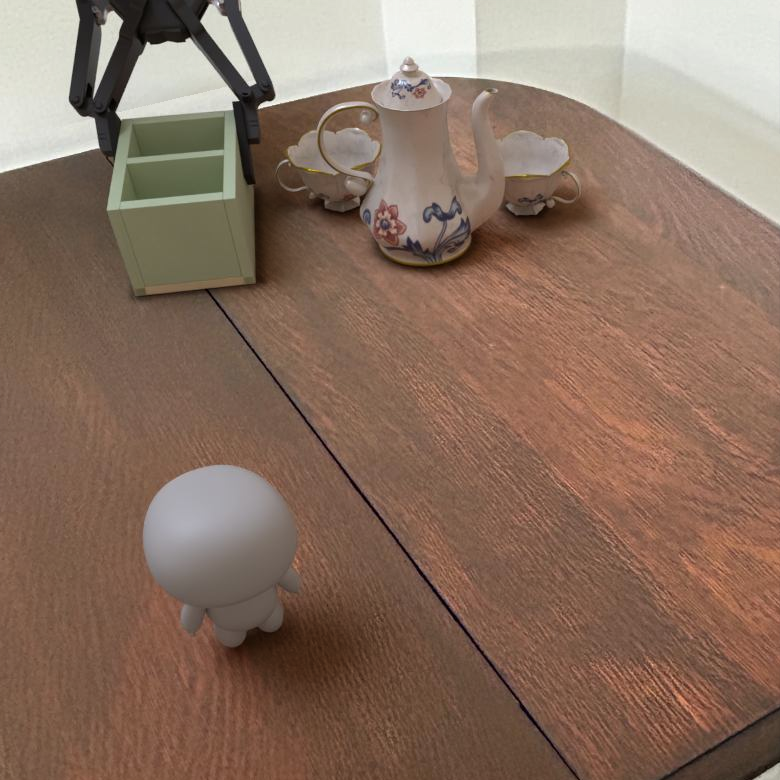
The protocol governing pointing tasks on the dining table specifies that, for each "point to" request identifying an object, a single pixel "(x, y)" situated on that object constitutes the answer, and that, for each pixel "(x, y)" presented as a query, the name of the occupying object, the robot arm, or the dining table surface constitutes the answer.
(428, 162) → the chinaware
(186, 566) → the figurine
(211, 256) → the shelf
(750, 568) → the dining table surface
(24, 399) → the dining table surface
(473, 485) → the dining table surface
